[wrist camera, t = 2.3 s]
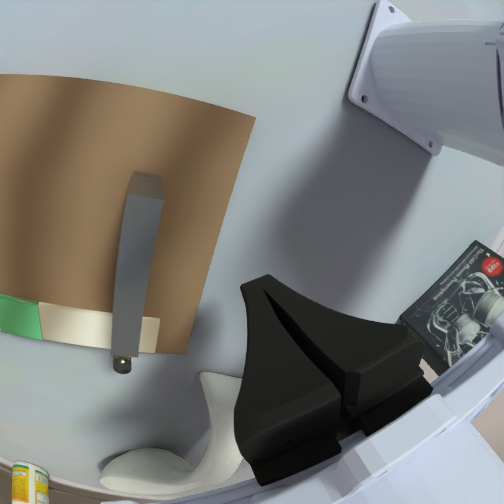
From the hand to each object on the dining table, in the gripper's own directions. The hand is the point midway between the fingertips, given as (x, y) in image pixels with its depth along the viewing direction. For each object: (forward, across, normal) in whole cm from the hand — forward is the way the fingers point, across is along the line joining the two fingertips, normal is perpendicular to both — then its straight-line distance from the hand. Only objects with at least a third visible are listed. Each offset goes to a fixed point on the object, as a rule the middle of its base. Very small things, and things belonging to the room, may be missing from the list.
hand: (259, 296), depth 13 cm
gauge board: (+5, +9, -6) cm, 11 cm away
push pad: (+3, +5, -2) cm, 6 cm away
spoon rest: (+5, +12, +18) cm, 22 cm away
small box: (+5, -21, +14) cm, 26 cm away
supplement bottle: (+5, +36, +21) cm, 41 cm away
